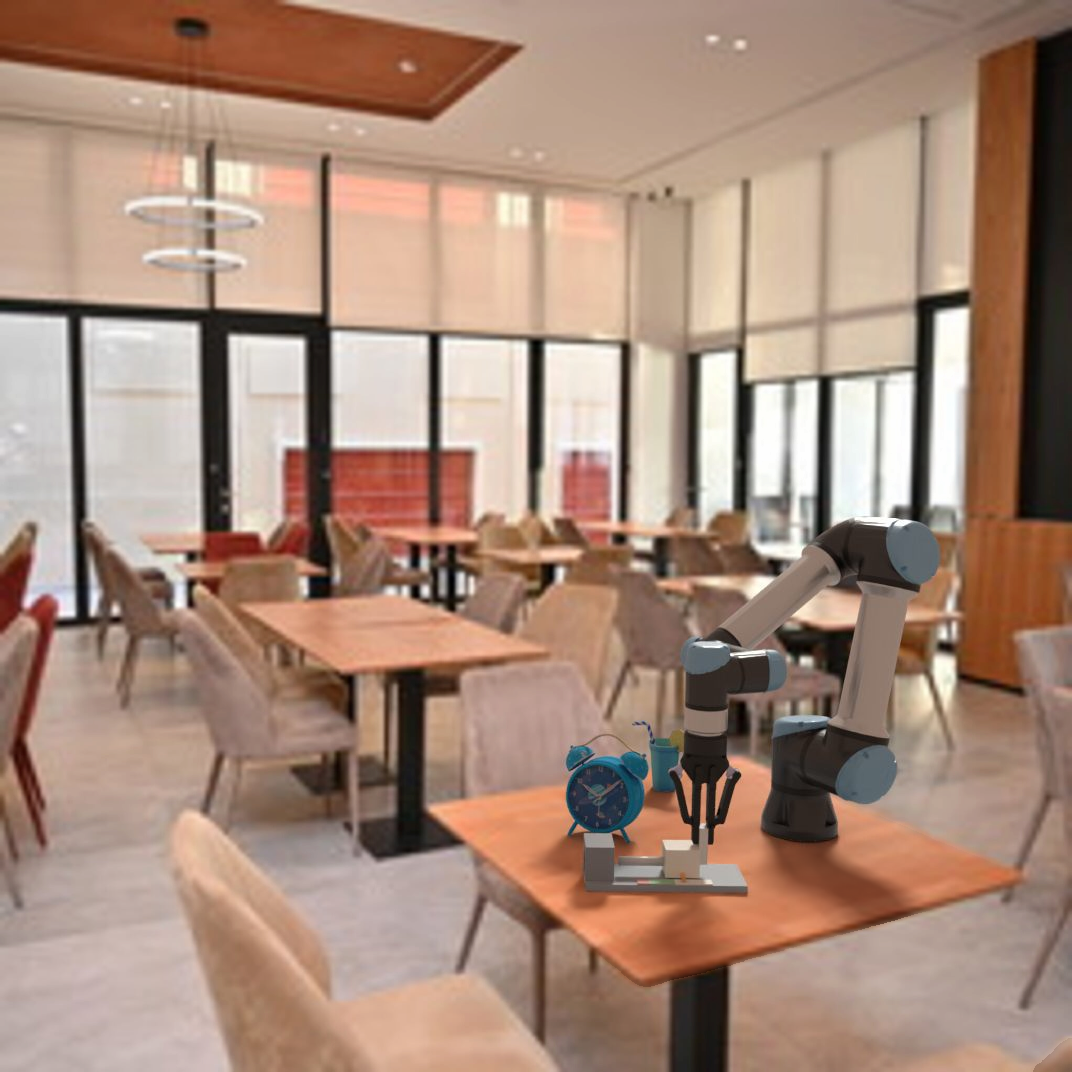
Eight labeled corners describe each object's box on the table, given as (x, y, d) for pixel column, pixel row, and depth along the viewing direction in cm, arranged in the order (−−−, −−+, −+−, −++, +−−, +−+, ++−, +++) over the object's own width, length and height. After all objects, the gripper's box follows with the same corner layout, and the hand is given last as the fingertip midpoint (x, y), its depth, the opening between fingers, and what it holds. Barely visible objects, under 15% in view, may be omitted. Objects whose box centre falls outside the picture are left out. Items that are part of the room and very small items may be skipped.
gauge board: (736, 870, 194) (737, 831, 193) (747, 892, 184) (748, 852, 183) (582, 868, 194) (583, 830, 193) (585, 891, 184) (586, 850, 183)
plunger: (695, 867, 191) (695, 840, 191) (701, 882, 184) (702, 854, 184) (617, 866, 191) (617, 839, 191) (620, 881, 184) (621, 853, 184)
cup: (625, 788, 241) (626, 723, 240) (636, 779, 248) (638, 715, 247) (684, 797, 235) (686, 730, 234) (694, 787, 242) (696, 722, 241)
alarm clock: (555, 838, 209) (556, 738, 207) (571, 822, 218) (573, 726, 217) (638, 850, 203) (640, 747, 201) (651, 833, 213) (653, 734, 211)
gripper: (738, 725, 191) (734, 854, 192) (665, 724, 190) (662, 853, 192) (747, 736, 183) (742, 870, 185) (671, 735, 183) (667, 869, 185)
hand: (701, 861), depth 188 cm, fingers closed
